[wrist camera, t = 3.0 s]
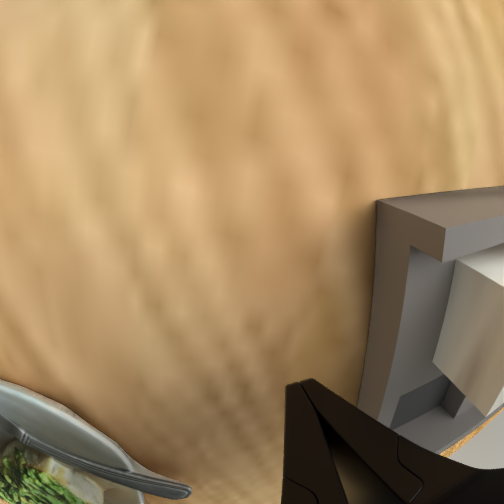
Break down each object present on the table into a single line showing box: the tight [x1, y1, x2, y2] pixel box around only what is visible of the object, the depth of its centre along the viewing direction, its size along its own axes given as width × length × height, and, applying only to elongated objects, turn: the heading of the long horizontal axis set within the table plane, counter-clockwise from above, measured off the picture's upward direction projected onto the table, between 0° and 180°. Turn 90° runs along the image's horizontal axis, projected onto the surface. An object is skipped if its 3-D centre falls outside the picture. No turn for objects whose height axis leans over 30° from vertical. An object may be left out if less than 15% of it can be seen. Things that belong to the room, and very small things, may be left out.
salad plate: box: [0, 379, 192, 504], centre depth 10 cm, size 19×18×5 cm
